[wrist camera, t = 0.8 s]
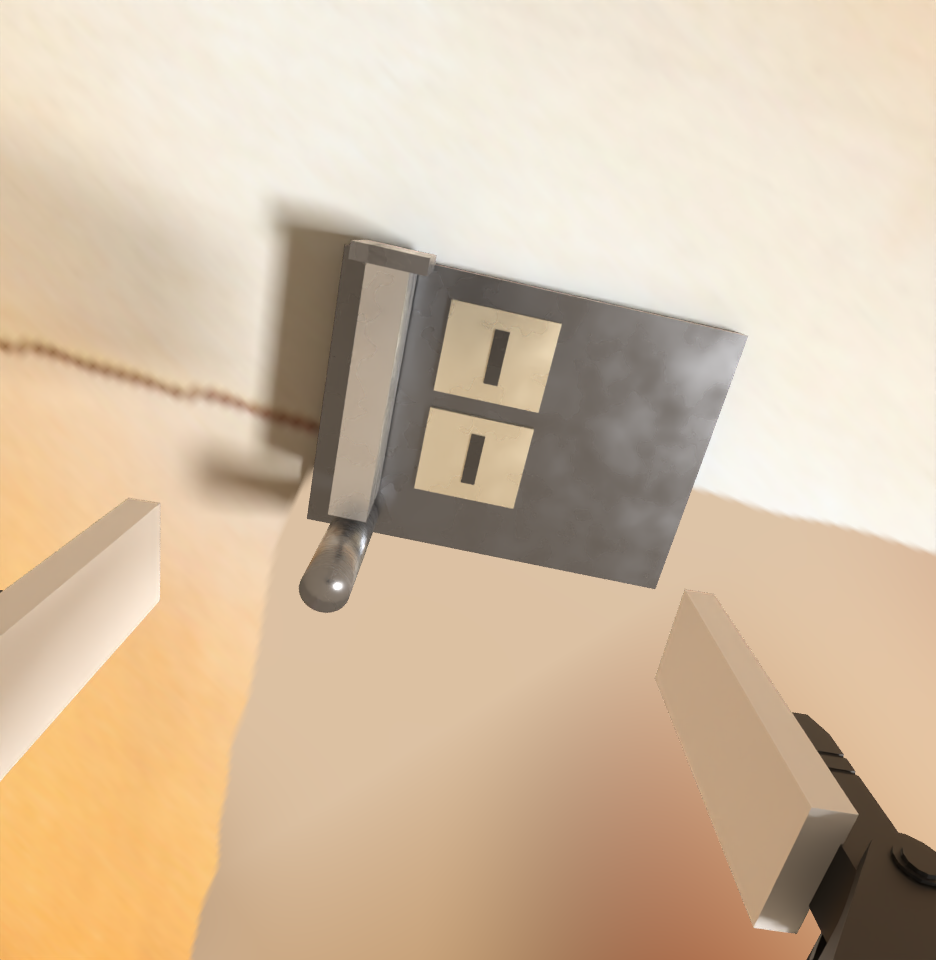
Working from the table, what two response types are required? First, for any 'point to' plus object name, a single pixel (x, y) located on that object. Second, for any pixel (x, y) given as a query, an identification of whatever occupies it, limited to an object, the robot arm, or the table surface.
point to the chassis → (526, 430)
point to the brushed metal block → (374, 371)
